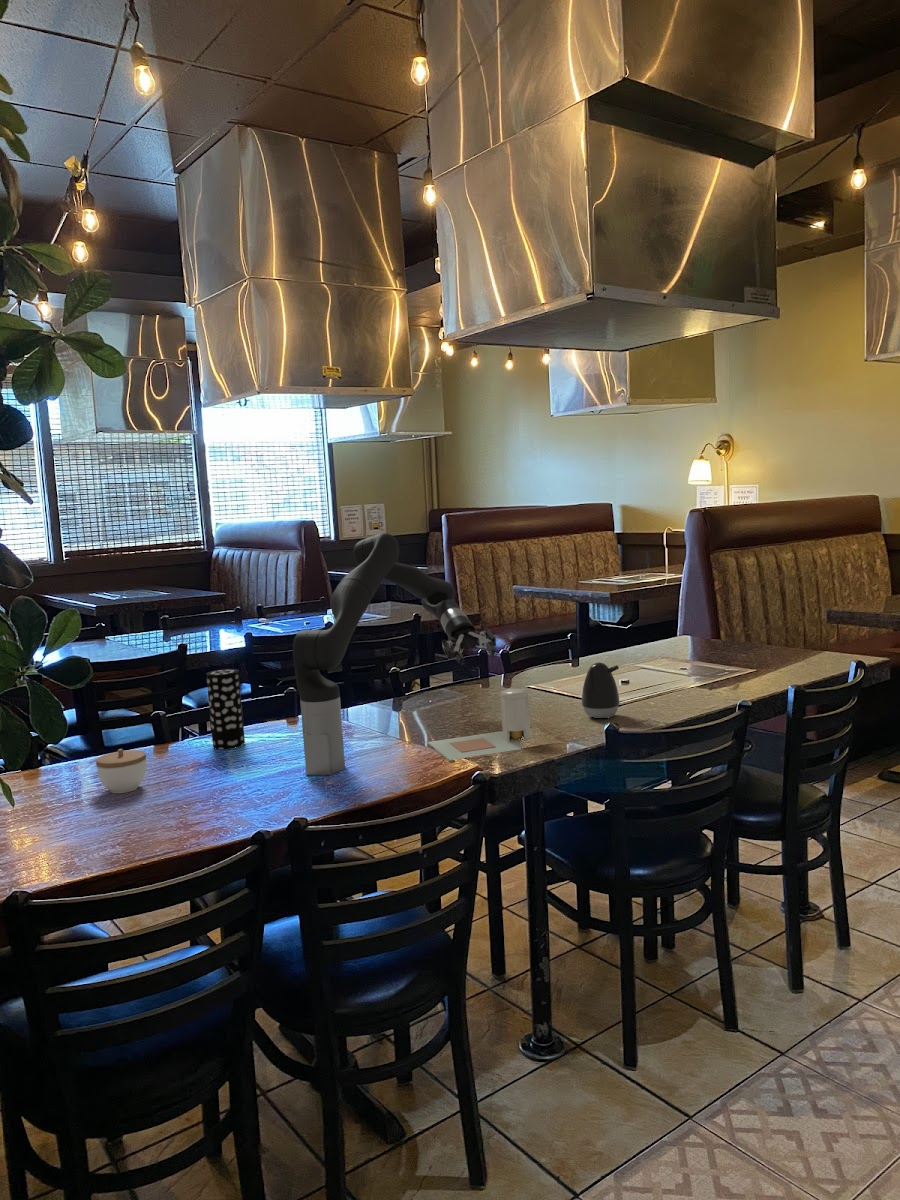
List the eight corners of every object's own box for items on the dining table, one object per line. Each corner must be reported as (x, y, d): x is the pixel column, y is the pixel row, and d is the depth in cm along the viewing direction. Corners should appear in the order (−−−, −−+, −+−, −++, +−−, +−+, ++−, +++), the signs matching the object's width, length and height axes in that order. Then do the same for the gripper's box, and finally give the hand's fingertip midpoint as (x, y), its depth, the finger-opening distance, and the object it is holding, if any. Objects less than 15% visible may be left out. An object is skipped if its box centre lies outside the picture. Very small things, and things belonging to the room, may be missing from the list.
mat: (535, 728, 232) (535, 725, 232) (564, 744, 215) (564, 741, 215) (427, 743, 222) (427, 741, 222) (449, 762, 205) (449, 759, 205)
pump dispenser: (618, 722, 233) (615, 666, 231) (579, 721, 236) (576, 666, 235) (623, 712, 242) (621, 659, 241) (586, 712, 246) (583, 659, 244)
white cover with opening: (534, 740, 218) (532, 692, 217) (509, 743, 216) (506, 695, 215) (523, 733, 225) (521, 687, 223) (499, 737, 223) (496, 690, 221)
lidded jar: (91, 791, 200) (87, 751, 199) (136, 779, 207) (132, 740, 206) (111, 800, 192) (107, 758, 191) (157, 787, 200) (153, 747, 199)
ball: (521, 740, 219) (521, 728, 218) (510, 740, 219) (509, 728, 219) (523, 737, 222) (522, 725, 221) (511, 737, 222) (511, 725, 222)
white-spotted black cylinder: (250, 741, 236) (244, 668, 234) (235, 750, 228) (228, 675, 226) (223, 741, 238) (216, 669, 236) (207, 749, 230) (200, 675, 228)
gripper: (432, 621, 242) (452, 653, 229) (480, 608, 246) (502, 639, 233) (434, 643, 246) (454, 676, 233) (481, 630, 250) (503, 661, 237)
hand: (478, 657), depth 233 cm, fingers open, 8 cm apart
